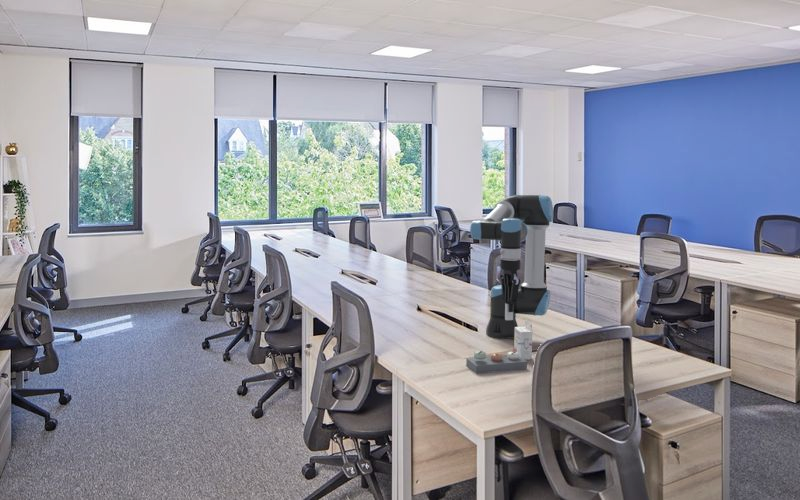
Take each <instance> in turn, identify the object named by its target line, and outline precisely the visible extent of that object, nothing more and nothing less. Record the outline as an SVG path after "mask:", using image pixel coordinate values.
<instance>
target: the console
mask: <svg viewBox="0 0 800 500" xmlns="http://www.w3.org/2000/svg"><path fill="white" fill-rule="evenodd" d="M465 359H466V365H465V366H466V367H467V368H469V369H470V371H472V372H474V373H475V374H487V373H496V372H508V371H517V370H518V371H519V370H527V369H528V361H527V360H524V359H523V358H521V357H520V356H519V359H518V360H510V359H508V354H502V361H492V360H491V355H490V356H486V358H485V359H482V360H479V359H475V358H474V357H466V358H465Z"/></svg>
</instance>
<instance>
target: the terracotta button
mask: <svg viewBox="0 0 800 500" xmlns="http://www.w3.org/2000/svg"><path fill="white" fill-rule="evenodd" d="M502 355H503V354H502V353H501V352H492V353H490V356H491V360H492V361H502Z"/></svg>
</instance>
